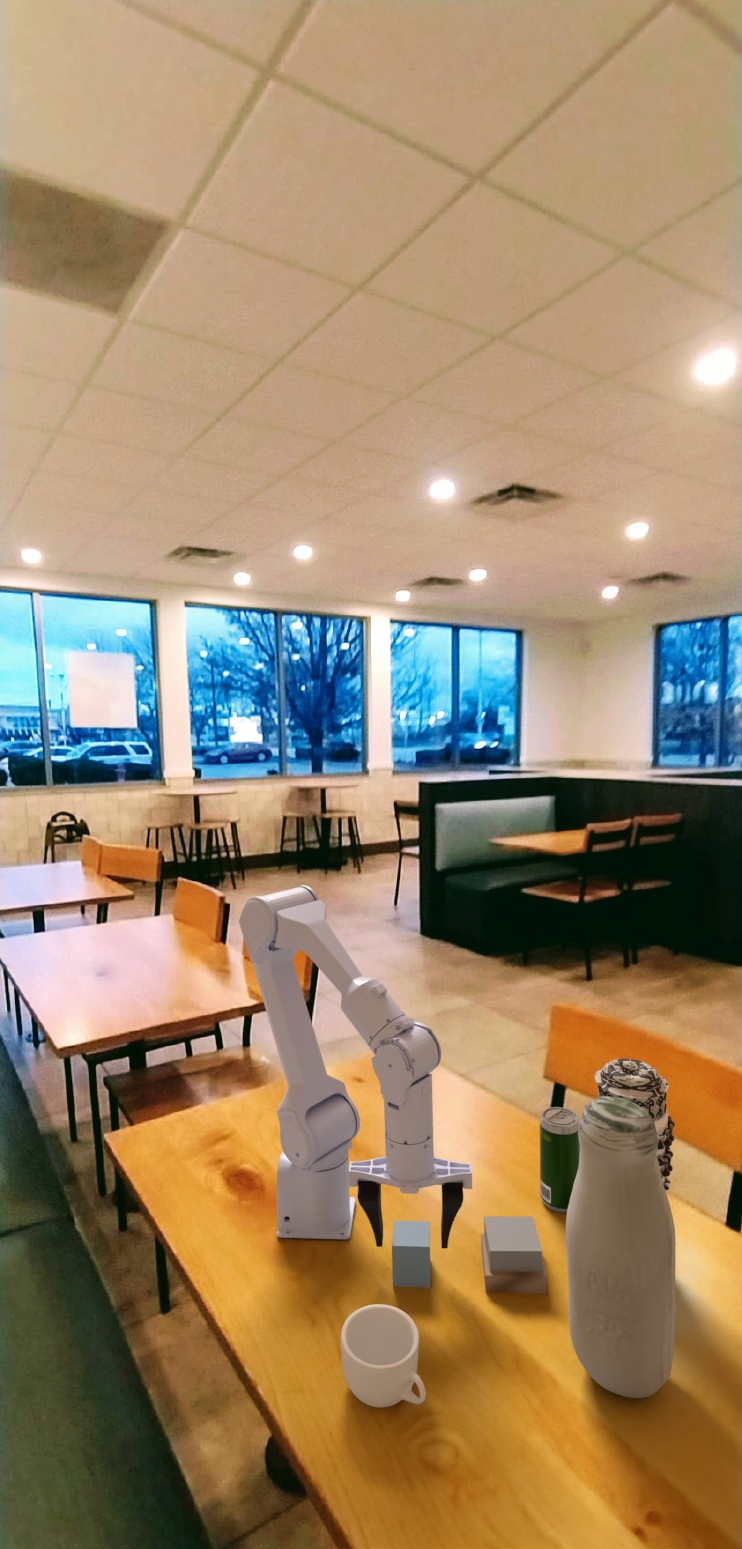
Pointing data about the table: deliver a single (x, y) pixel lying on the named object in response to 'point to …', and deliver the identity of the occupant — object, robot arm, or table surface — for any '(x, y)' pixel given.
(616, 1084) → the decorative candle
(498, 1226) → the grey middle block
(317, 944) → the robot arm
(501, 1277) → the walnut base block
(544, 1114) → the beer can
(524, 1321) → the table surface
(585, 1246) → the glass bottle
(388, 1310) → the teacup
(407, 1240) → the slate blue block
